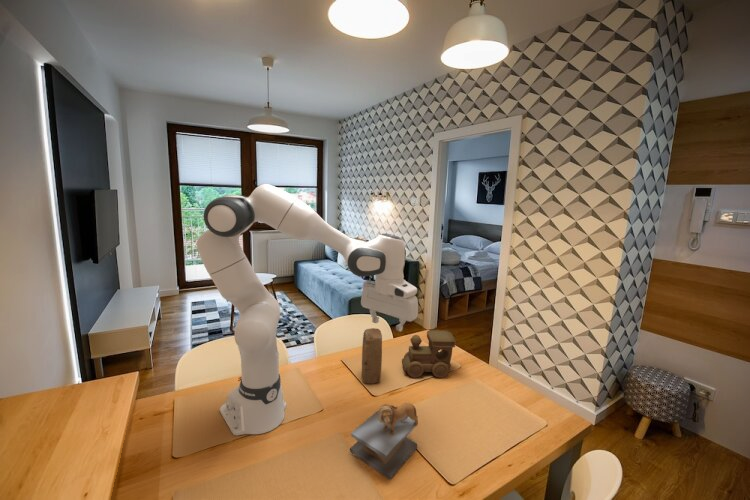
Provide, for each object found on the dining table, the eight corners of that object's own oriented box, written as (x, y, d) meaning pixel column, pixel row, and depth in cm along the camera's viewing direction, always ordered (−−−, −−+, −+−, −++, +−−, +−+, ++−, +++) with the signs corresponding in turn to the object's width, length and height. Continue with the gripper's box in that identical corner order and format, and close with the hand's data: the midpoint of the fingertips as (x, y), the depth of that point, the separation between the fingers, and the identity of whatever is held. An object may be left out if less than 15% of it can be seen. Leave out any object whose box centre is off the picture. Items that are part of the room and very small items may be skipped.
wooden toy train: (445, 364, 142) (448, 329, 139) (453, 379, 131) (456, 341, 128) (400, 364, 141) (403, 328, 138) (404, 379, 130) (407, 340, 127)
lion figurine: (384, 444, 86) (385, 414, 84) (372, 432, 90) (373, 403, 88) (423, 423, 94) (425, 395, 93) (410, 413, 99) (412, 386, 97)
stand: (347, 454, 91) (348, 431, 90) (380, 424, 104) (381, 403, 102) (387, 482, 83) (389, 457, 82) (418, 445, 96) (420, 423, 94)
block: (381, 385, 125) (383, 337, 121) (361, 385, 124) (363, 336, 121) (378, 370, 136) (380, 325, 132) (360, 370, 135) (362, 325, 131)
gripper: (357, 280, 105) (356, 320, 108) (411, 294, 93) (408, 339, 96) (369, 277, 110) (367, 315, 113) (422, 289, 98) (419, 332, 101)
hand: (386, 326), depth 104 cm, fingers open, 8 cm apart
